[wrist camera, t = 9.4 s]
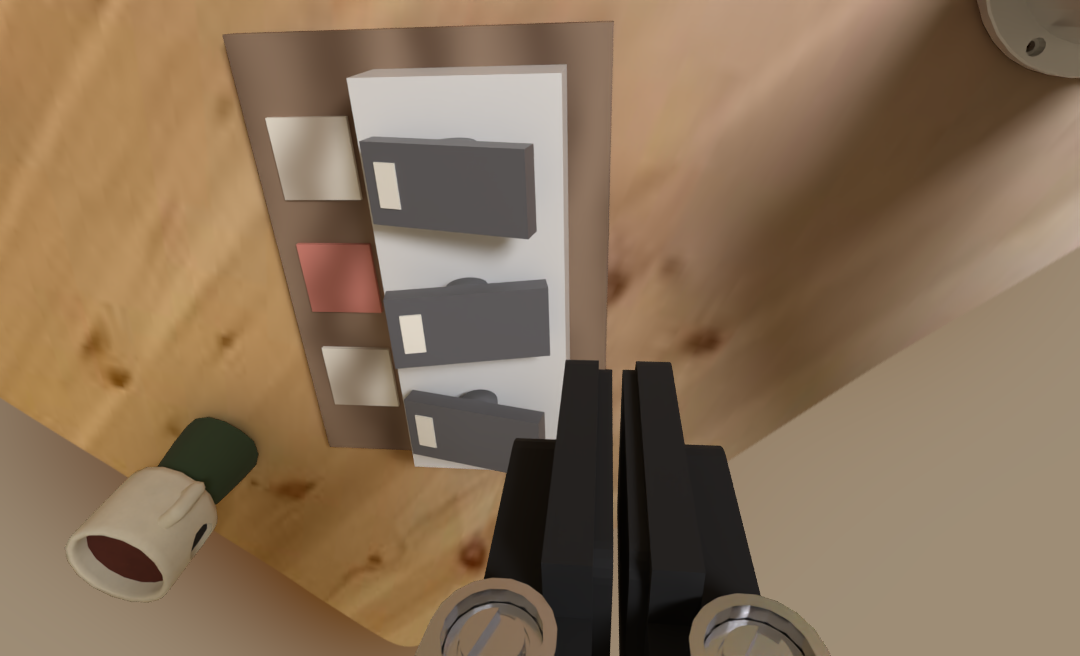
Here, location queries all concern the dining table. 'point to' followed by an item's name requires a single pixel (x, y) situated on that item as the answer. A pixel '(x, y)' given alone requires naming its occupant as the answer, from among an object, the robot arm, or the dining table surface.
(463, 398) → the rocker far
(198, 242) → the dining table surface
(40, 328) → the dining table surface
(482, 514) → the dining table surface
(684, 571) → the robot arm
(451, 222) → the block
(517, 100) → the switch housing
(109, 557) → the character mug
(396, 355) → the rocker middle
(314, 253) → the chart board
